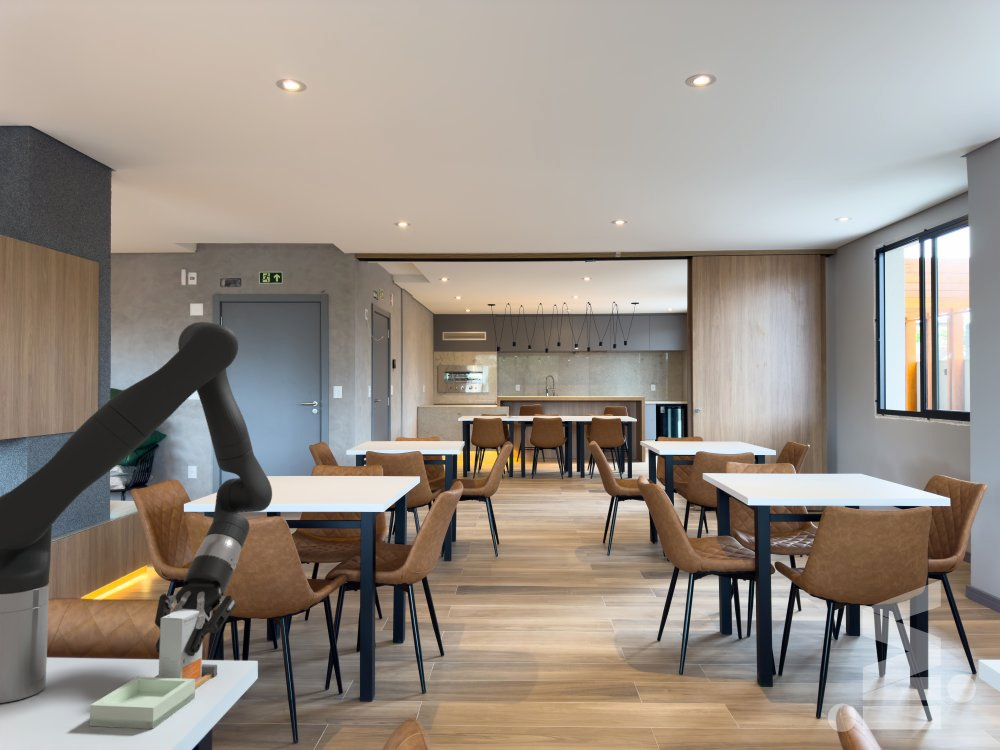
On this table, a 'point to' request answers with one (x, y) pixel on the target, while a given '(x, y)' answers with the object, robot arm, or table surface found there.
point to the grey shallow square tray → (205, 674)
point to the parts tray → (142, 702)
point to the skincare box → (179, 646)
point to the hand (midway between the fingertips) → (175, 652)
